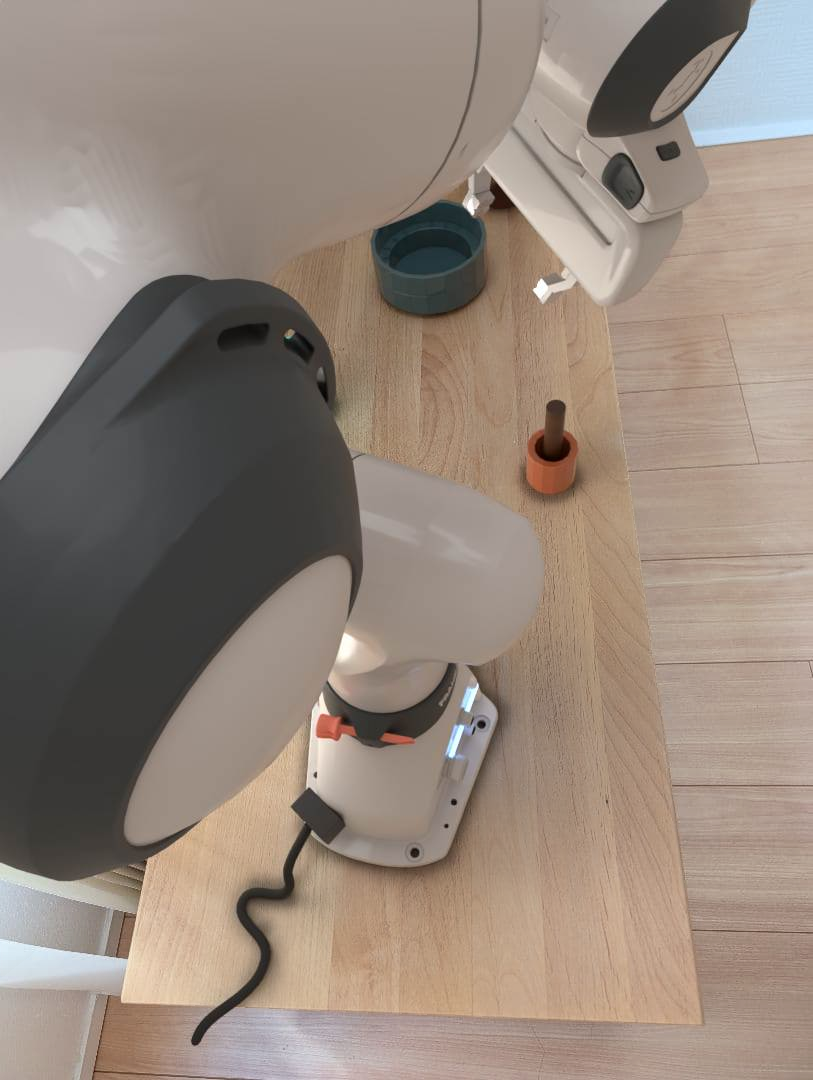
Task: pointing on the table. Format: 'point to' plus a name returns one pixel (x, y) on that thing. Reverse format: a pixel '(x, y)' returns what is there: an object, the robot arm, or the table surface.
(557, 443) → the stick
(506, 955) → the table surface
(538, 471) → the holder
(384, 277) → the bowl
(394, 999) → the table surface
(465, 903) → the table surface
